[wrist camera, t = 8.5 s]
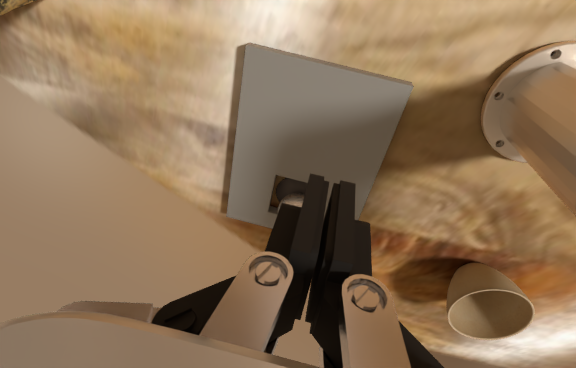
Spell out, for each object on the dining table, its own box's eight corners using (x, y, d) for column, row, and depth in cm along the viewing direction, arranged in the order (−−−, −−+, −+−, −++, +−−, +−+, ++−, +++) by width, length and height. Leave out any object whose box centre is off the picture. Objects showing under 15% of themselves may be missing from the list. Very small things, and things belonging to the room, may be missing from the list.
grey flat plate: (411, 82, 35) (413, 86, 34) (346, 241, 49) (346, 248, 48) (249, 42, 36) (245, 45, 35) (229, 210, 50) (226, 216, 48)
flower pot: (519, 289, 48) (541, 333, 42) (447, 302, 52) (459, 345, 46) (503, 240, 44) (526, 282, 38) (427, 259, 48) (437, 299, 42)
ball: (288, 214, 48) (289, 183, 46) (319, 223, 46) (322, 191, 44) (270, 230, 44) (270, 197, 42) (304, 242, 42) (305, 208, 40)
